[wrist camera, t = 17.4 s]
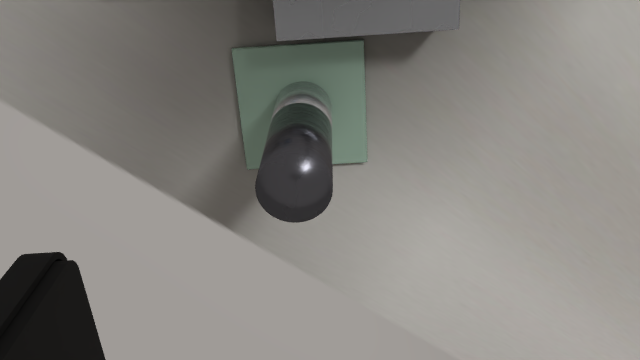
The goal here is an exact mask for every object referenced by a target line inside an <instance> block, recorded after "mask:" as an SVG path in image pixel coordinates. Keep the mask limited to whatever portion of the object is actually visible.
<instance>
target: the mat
mask: <svg viewBox="0 0 640 360" xmlns="http://www.w3.org/2000/svg"><path fill="white" fill-rule="evenodd" d="M232 57H233V65H234V72H235V80H236V88H237V96H238V103H239V111H240V119H241V127H242V134H243V142H244V150H245V158H246V165H247V169H259V167H260V163H261V159H262V155H263V151H264V147H265V143H266V139H267V135H268V131H269V127H270V123H271V119H272V115H273V111H274V107H275V103H276V99H277V97H278V95H279V93H280V92H281V91H282V90H283V89H284V88H285V87H286V86H288V85H290V84H292V83H295V82H300V81H306V82H311V83H314V84H316V85H318V86H320V87H321V88H322V89H323V90H324V91H325V92H326V93H327V94H328V96H329V98H330V101H331V105H332V164H343V163H359V162H367V134H366V101H365V68H364V41H363V40H348V41H333V42H318V43H303V44H288V45H273V46H257V47H242V48H232Z"/></svg>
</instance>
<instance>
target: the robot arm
mask: <svg viewBox="0 0 640 360" xmlns="http://www.w3.org/2000/svg"><path fill="white" fill-rule="evenodd" d="M0 360H105V357H104V353H103V350H102V347H101V343H100V340H99V336H98V332H97V329H96V325H95V322H94V319H93V315H92V312H91V308H90V305H89V302H88V298H87V294H86V291H85V288H84V284H83V281H82V277H81V274H80V270H79V267H78V265H77V264H76V262H74V261H73V260H70V261H67V258H66V257H65V256H64V254H62V253H60V252H52V253H35V254H24V255H21V256H20V257H19V258H17V260H16V261H15V262H14V263H13V265H12V266H11V267H10V268H9V270H8V271H7V272H6V273H5V274H4V276H3V277H2V278H1V280H0Z"/></svg>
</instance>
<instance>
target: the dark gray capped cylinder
mask: <svg viewBox="0 0 640 360" xmlns="http://www.w3.org/2000/svg"><path fill="white" fill-rule="evenodd" d="M255 189H256V195H257V198H258V201H259V203H260V204H261V206H262V207H263V208H264V209H265V211H266V212H268V213H269V214H270V215H272V216H273V217H275V218H277V219H279V220H282V221H286V222H304V221H308V220H310V219H313V218H315V217H317V216H318V215H319V214H321V213H322V212H323V211H324V210H325V209H326V207H327V206H328V204H329V202H330V200H331V197H332V192H333V180H332V105H331V101H330V98H329V96H328V94H327V93H326V92H325V91H324V90H323V89H322V88H321V87H320V86H318V85H316V84H314V83H311V82H306V81H300V82H295V83H292V84H290V85H288V86H286V87H285V88H284V89H283V90H282V91H281V92H280V93H279V95H278V97H277V99H276V103H275V107H274V111H273V115H272V119H271V123H270V127H269V131H268V135H267V139H266V143H265V147H264V151H263V155H262V159H261V163H260V167H259V171H258V175H257V179H256V185H255Z"/></svg>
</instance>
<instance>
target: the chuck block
mask: <svg viewBox="0 0 640 360" xmlns="http://www.w3.org/2000/svg"><path fill="white" fill-rule="evenodd" d="M273 8H274V19H275V29H276V40H277V41H289V40H304V39H319V38H334V37H349V36H364V35H379V34H395V33H410V32H425V31H440V30H455V29H459V16H460V0H273Z"/></svg>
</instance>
